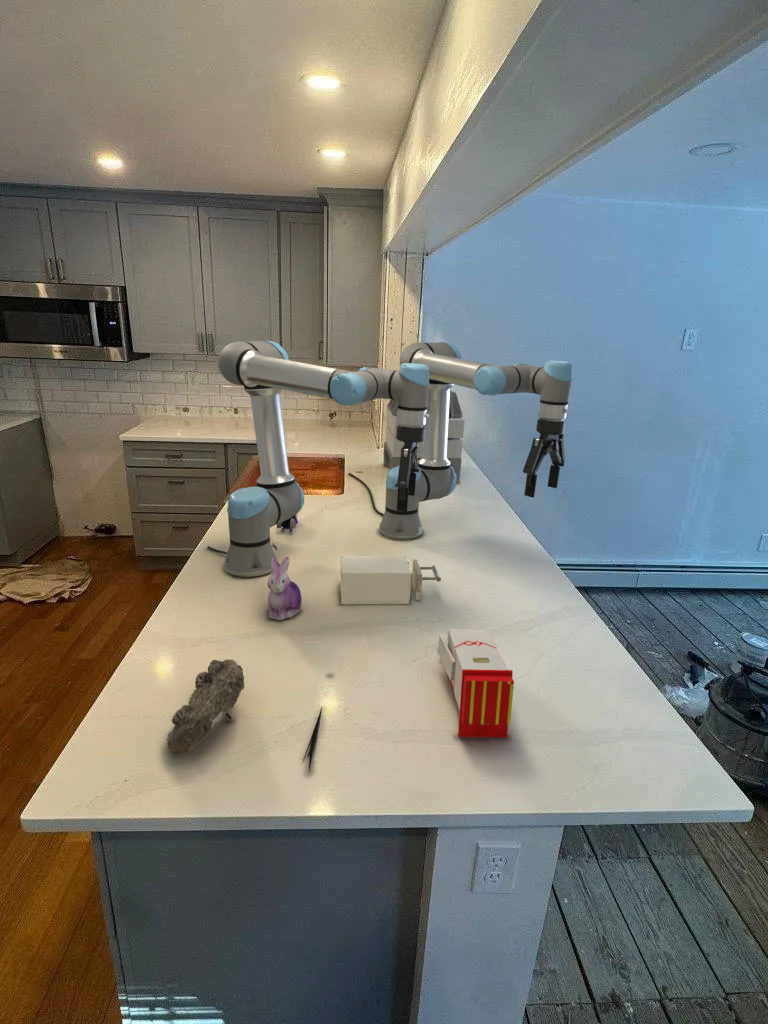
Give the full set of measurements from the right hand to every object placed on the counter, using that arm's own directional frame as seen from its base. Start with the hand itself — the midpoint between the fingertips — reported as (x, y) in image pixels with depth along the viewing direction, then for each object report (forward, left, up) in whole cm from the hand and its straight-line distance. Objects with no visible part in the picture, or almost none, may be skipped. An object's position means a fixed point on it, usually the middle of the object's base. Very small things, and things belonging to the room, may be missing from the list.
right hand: (540, 491), depth 164 cm
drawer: (-14, -42, -26) cm, 51 cm away
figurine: (-24, -72, -27) cm, 80 cm away
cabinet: (-18, -47, -27) cm, 57 cm away
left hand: (-18, -37, -1) cm, 41 cm away
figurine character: (-74, -40, -27) cm, 88 cm away
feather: (+15, -87, -27) cm, 93 cm away
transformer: (-100, +50, -27) cm, 115 cm away
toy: (+27, -58, -27) cm, 69 cm away
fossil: (+2, -103, -27) cm, 107 cm away
